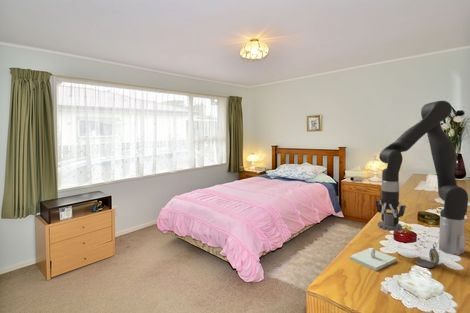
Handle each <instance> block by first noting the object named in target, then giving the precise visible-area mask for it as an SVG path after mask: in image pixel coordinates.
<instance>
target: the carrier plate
mask: <svg viewBox="0 0 470 313" xmlns="http://www.w3.org/2000/svg"><path fill="white" fill-rule="evenodd" d="M349 260H351V261H353V262H355V263H357V264H360V265H362V266H365V267H366V268H369V269H371V270H373V271H375V272H376V271H378V270H381V269H383V268H385V267H388V266H389V265H392V264H394V263H395V262H397V257H395V256H391V255H389V254H387V253H384V252H381V251H379V250H376V248H375V247H369V248H365V249H364V250H362V251H358V252H357V253H354V254H352V255H349Z"/></svg>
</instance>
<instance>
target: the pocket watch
mask: <svg viewBox="0 0 470 313" xmlns="http://www.w3.org/2000/svg"><path fill="white" fill-rule="evenodd" d="M436 249H437V244H436V243H433V244H432V248H430V249H429V253H428V254H429V260H427V259H421V258H418V259H416V260H415V263H416V265H418V266H420V267H423V268H428V269H429V268H430V269H432V268H434V267H435V265H439V263H440V255H439V253H438V251H437V250H436Z"/></svg>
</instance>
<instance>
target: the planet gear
mask: <svg viewBox="0 0 470 313" xmlns="http://www.w3.org/2000/svg"><path fill="white" fill-rule="evenodd" d="M377 227H378V228H379V229H382V230H383V231H385V230H386V231H389V232H391V231H392V232H393V231H394V232H398V231H402V230H403V225H402V224H401V223H398V224H397V225H394V215H393V213H392V211H391V212H388V211H386V212H385V213H384V222H383V221H382V220H380V221H379V222H377Z"/></svg>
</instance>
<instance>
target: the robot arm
mask: <svg viewBox="0 0 470 313" xmlns="http://www.w3.org/2000/svg"><path fill="white" fill-rule="evenodd" d="M452 110H453V107H452V105H451V103H450V102H448V101H447V100H437V101H434V102H433V101H432V102H429V103H426V104H424V105H423V106H422V107H421V110H420V114H421V120H420V121H418V122H417V123H415V124H414V125H412V126H411V127H409V128H408V129H406V130H404V132H403V133H402V134H401V135H400V136H399V137H397V139H396V140H395V141H394V142H391V143H390V144H389V145H388V146H386V147H384V148H383V149H382V150H381V151H380V152H379V158H378V159H379V160H380V161H381V162H382V163H384V164H387V166H386V168H384V169H382V173H381V185H380V186H381V187H380V188H381V190H380V191H381V192H380V193H381V194H380V195H381V199H378V200H375V206H376V211H377V212H378V213H380V214H381V217H380V218H381V222H384V213H385V212H388V210H389V211H391V213H393V215H394V225H397V224H400V222H399V221H400V218H402V217H404V216H405V215H404V213H405V212H406V207H407V206H406V204H402V203H401V204H400V201H399V200H400V182H399V179H400V178H399V175H400V170H401V168H402V163H403V158H404V157H403V155H402V153H403V152H407V151H409V150H410V149H411V148H413V146H414V145H415V144H416V143H417V142H418V141H419V140H420V139H421V138H422V137H424V136H425V135H426V134H427V138H428V142H429V147H430V153H431V157H432V161H433V165H434V170H435V173H436V179H437V190H438V192H437V193H438V196H439V198H441V200H442V201H444V203H443V204H444V206H443V209H440V211H439V212H440V213H439V215H440V216H439V235H438V236H439V238H438V250H440V251H441V252H444V253H447V254H450V255H457V256H460V255H463V254H464V253H465V252H466V251H465V247H466V233H465V217H466V215H467V212H468V206H469V204H468V203H469V194H468V192H467V190H466V189H464V188H463V187H461V186H458V183H457V180H456V175H455V168H456V165H457V153H456V152H457V151H456V149H455V148H456V147H455V145H454V143H453V141H452V140H451V139H450V137H449V136H448V135H447V134H446V132H445V131H444V130H443V128H442V124H441V122H443V121H444V120H446V119H447V118H448V117H449V116H450V115H451V113H452Z"/></svg>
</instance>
